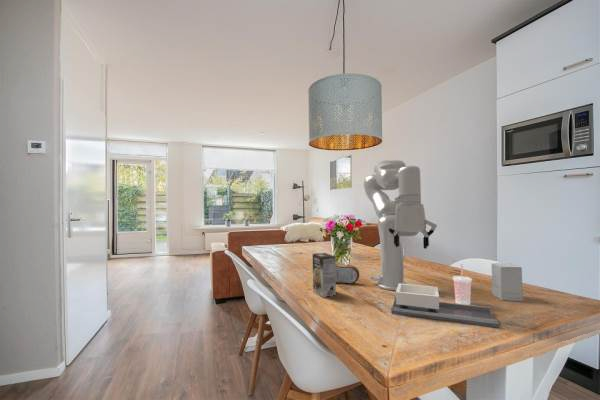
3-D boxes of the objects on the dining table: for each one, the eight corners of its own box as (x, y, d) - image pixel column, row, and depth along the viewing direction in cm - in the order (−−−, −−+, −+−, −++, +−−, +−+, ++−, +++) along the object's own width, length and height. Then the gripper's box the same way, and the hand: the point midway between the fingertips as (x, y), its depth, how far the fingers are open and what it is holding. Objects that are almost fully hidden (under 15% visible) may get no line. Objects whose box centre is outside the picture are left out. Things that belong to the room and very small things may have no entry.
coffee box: (312, 291, 120) (311, 253, 120) (325, 289, 123) (325, 252, 123) (322, 298, 112) (321, 257, 112) (336, 295, 114) (335, 255, 115)
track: (391, 313, 95) (391, 307, 95) (395, 301, 106) (394, 296, 106) (498, 327, 83) (498, 321, 83) (489, 313, 93) (489, 307, 94)
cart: (396, 310, 95) (395, 292, 95) (399, 299, 105) (398, 283, 105) (439, 315, 89) (438, 296, 89) (437, 304, 99) (437, 286, 100)
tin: (359, 283, 131) (359, 265, 132) (358, 285, 128) (358, 266, 129) (328, 281, 136) (327, 263, 136) (326, 282, 133) (326, 264, 134)
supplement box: (523, 301, 104) (522, 267, 104) (501, 300, 105) (500, 266, 105) (512, 295, 111) (511, 263, 111) (491, 294, 112) (490, 262, 113)
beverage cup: (467, 300, 106) (466, 262, 107) (476, 305, 100) (474, 266, 101) (450, 299, 107) (449, 262, 107) (457, 305, 101) (456, 266, 101)
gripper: (383, 200, 104) (384, 247, 104) (434, 199, 95) (436, 250, 95) (388, 201, 111) (389, 244, 110) (437, 199, 101) (438, 247, 101)
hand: (411, 247), depth 103 cm, fingers open, 9 cm apart
